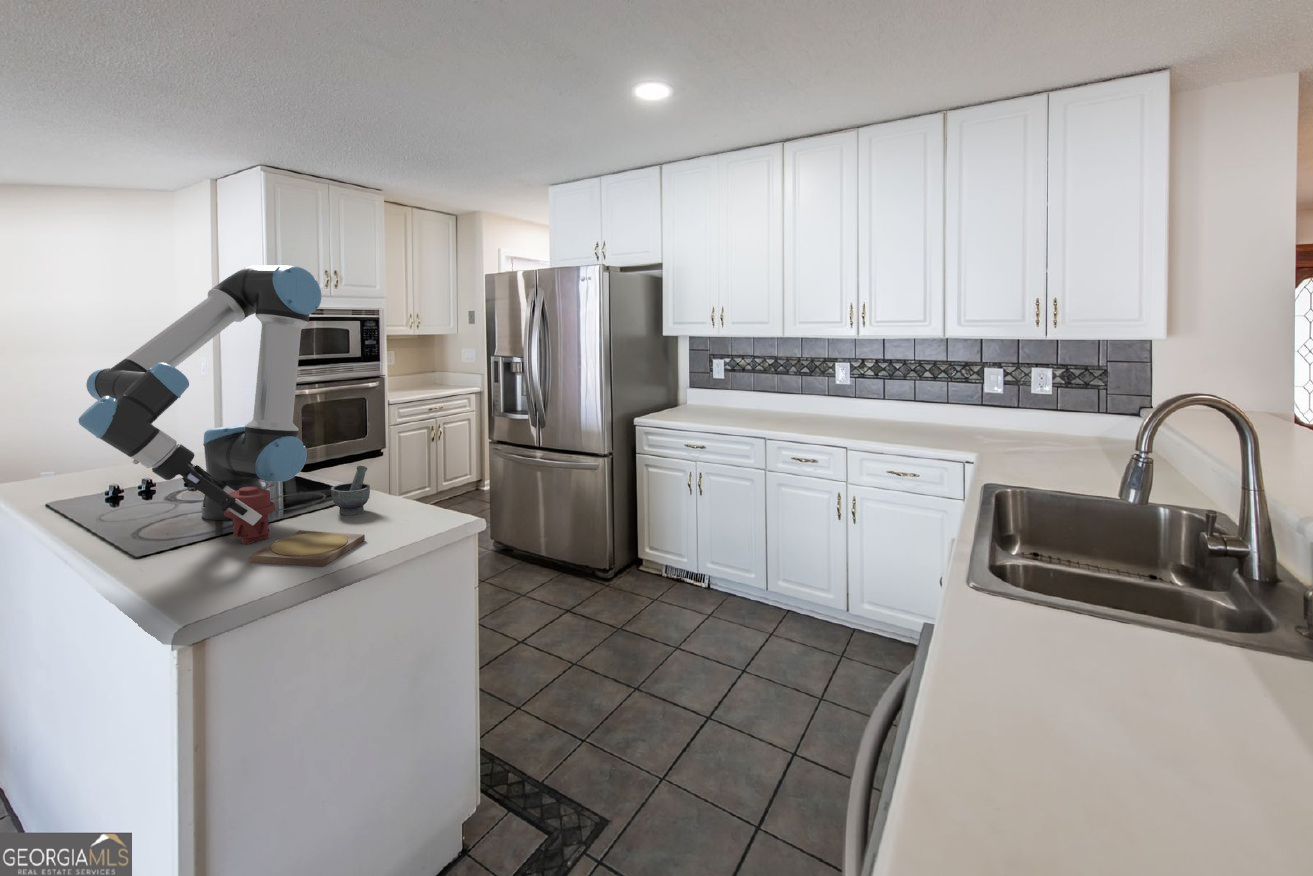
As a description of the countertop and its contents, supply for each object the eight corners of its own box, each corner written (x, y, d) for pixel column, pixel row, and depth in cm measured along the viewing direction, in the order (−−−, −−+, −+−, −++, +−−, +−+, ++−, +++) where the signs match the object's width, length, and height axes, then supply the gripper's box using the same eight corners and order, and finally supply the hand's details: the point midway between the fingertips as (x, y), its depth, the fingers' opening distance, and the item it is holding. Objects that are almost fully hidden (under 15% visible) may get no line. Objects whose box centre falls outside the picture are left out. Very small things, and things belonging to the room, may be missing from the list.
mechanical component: (242, 550, 141) (217, 541, 146) (286, 538, 150) (261, 530, 154) (238, 496, 139) (212, 489, 144) (283, 487, 148) (257, 481, 152)
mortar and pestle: (355, 518, 166) (353, 474, 164) (323, 515, 168) (321, 471, 166) (381, 507, 177) (380, 465, 175) (351, 504, 179) (350, 462, 177)
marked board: (299, 536, 151) (299, 529, 151) (364, 540, 150) (364, 533, 150) (249, 562, 134) (249, 553, 134) (322, 566, 134) (322, 558, 133)
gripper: (146, 459, 142) (230, 513, 155) (153, 482, 124) (248, 541, 136) (173, 434, 145) (254, 489, 157) (184, 452, 126) (275, 513, 139)
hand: (252, 513), depth 147 cm, fingers open, 13 cm apart
